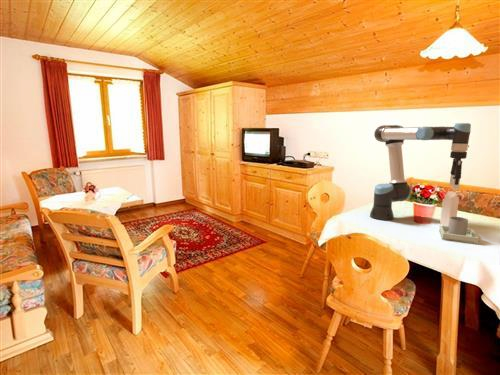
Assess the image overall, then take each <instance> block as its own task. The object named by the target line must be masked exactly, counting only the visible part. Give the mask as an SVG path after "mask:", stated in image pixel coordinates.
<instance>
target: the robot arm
mask: <svg viewBox="0 0 500 375" xmlns="http://www.w3.org/2000/svg"><path fill="white" fill-rule="evenodd" d="M471 126H472V124H471V123H469V122H468V123H467V122H464V123H463V122H457V123H455V124H454V126H415V127H413V126H411V127H410V126H409V127H404V126H402V125H397V124H395V125H393V124H392V125H391V124H389V125H380V126H378V127H377V128H376V129H375V131H374V133H373V135H374V138H375V140H376V141H377V142H380V143H381V142H382V143H384V144H385V147H387V150H388V161H389V171H390V181H389V183H380V184H376V185H375V187H374V191H373V206H372V208H371V211H370V213H369V218H372V219H374V220H378V221H392V220H394V211H393V208H392V206H393V205H392V204H393V203H396V202H405V201H408V200H409V199H410V198H411V197H410V193H411V192H412V193H413V190H412V187H411V186H410V185H409V184H408V181H407V180H406V179H405V169H404V159H403V147H402V146H403V145H404V141H405V140H407V141H408V140H409V141H420V140H421V141H440V140H441V141H442V140H443V141H452V142H451V146H450V147H451V148H450V150H451V151H450V157H449V158H451V159H452V165H451V168H450V169H451V171H450V177H449V178H450V179H449V183H448V186H449V187H452V191H459V187H460V182H461V179H462V170H463V169H462V166H463V165H462V164H463V160H462V159H464V160H465V159H467V156H468V148H470V145H469V141H470V137H471V136H470V135H471V131H472V130H471V129H472V127H471Z"/></svg>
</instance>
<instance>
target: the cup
mask: <svg viewBox="0 0 500 375" xmlns="http://www.w3.org/2000/svg"><path fill="white" fill-rule="evenodd" d="M468 224H469V219H468V218H465V217H460V216H457V217H450V225H449V233H448V234H456V235H464V236H466V233H467V229H468V226H469V225H468Z"/></svg>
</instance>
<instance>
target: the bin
mask: <svg viewBox="0 0 500 375" xmlns="http://www.w3.org/2000/svg"><path fill="white" fill-rule="evenodd" d="M438 231H439V235H440V237H441V240H443V241H450V242H460V243H467V244H475V245H478V244H479V236H478V235H477V233H476V232H475V231H474V229H473V228H467V233H466V236H464V235H456V234H448V233H449V226H444V225H441V224H439V230H438Z"/></svg>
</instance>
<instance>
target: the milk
mask: <svg viewBox="0 0 500 375" xmlns="http://www.w3.org/2000/svg"><path fill="white" fill-rule="evenodd" d="M444 195H445V198H444V199H443V198H442V203H441V204H442V205H441V212H440V213H441V214H440V219H439V220H440V222H439V225H441V226H449V225H450V217H458V210H459V200H460V197H459V195H457V192H455V191H451V190H450V191H449V190H447V192H446V193H445V194H444Z"/></svg>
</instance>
